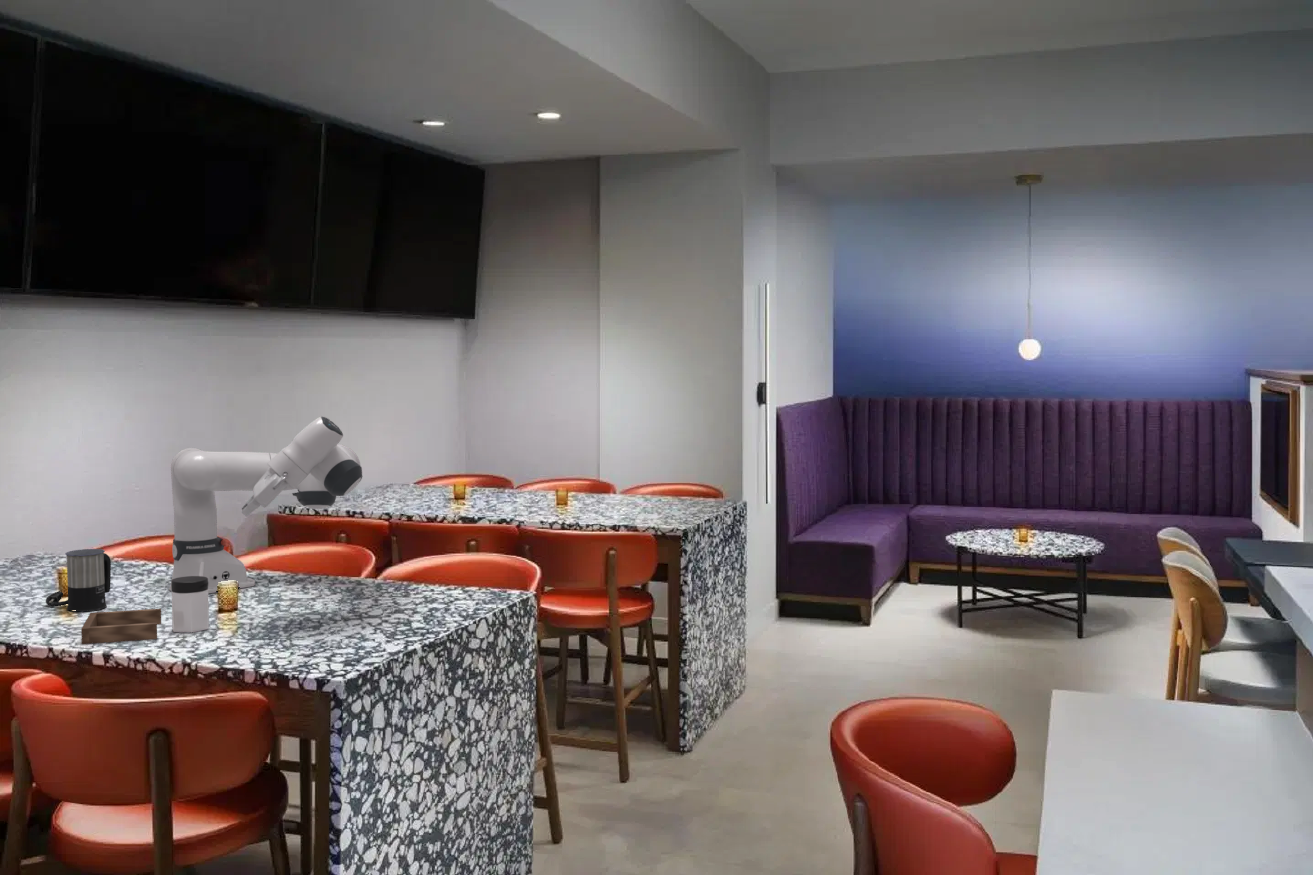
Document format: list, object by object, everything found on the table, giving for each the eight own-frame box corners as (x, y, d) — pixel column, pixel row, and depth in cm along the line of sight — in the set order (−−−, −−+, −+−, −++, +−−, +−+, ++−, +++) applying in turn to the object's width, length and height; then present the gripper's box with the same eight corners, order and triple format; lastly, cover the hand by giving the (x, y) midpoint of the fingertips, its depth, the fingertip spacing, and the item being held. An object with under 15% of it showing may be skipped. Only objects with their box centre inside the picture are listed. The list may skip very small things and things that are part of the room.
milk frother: (101, 612, 289) (99, 554, 288) (33, 614, 286) (31, 555, 285) (115, 600, 303) (114, 545, 302) (51, 602, 300) (49, 546, 299)
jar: (210, 631, 270) (209, 581, 269) (173, 634, 267) (172, 583, 266) (207, 623, 278) (206, 574, 278) (171, 626, 275) (170, 577, 274)
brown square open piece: (161, 622, 278) (160, 608, 278) (156, 638, 262) (156, 623, 262) (90, 627, 273) (90, 612, 273) (81, 644, 257) (81, 628, 257)
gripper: (297, 484, 269) (254, 527, 266) (293, 476, 288) (253, 515, 285) (277, 466, 267) (233, 509, 264) (274, 458, 286) (233, 498, 283)
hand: (243, 512), depth 275 cm, fingers open, 5 cm apart
